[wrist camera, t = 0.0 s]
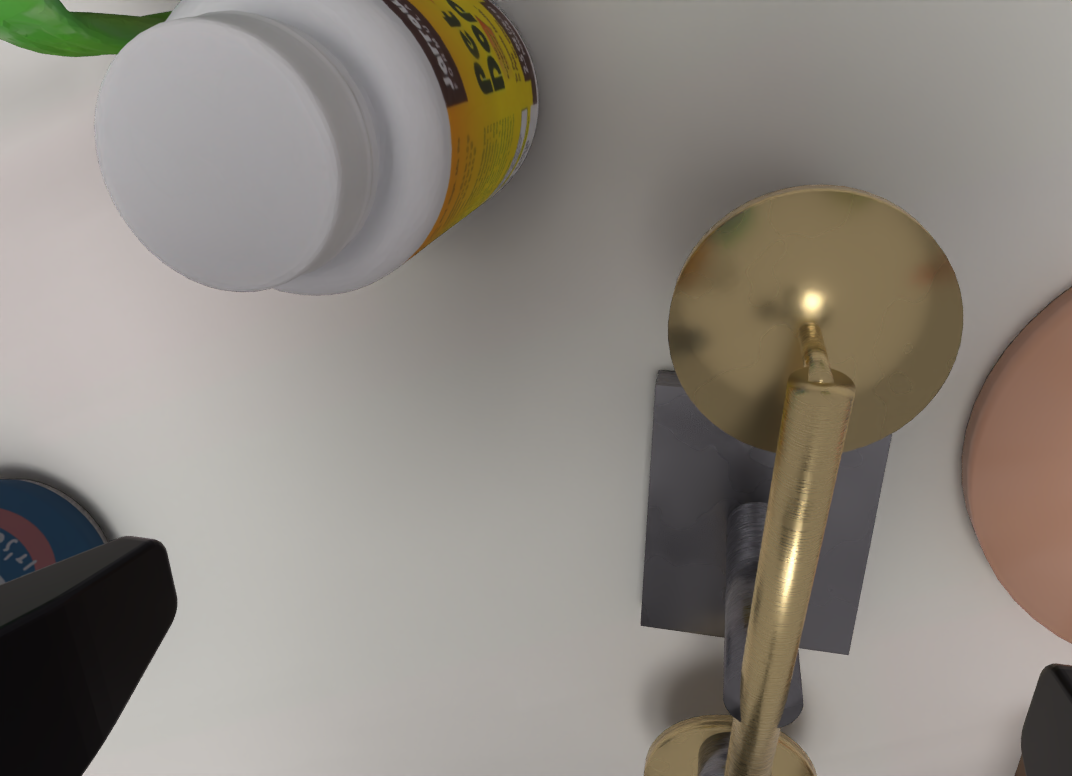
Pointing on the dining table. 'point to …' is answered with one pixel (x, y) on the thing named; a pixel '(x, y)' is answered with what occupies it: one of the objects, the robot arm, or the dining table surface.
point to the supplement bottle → (311, 135)
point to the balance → (783, 446)
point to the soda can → (40, 528)
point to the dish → (1027, 468)
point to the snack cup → (69, 28)
